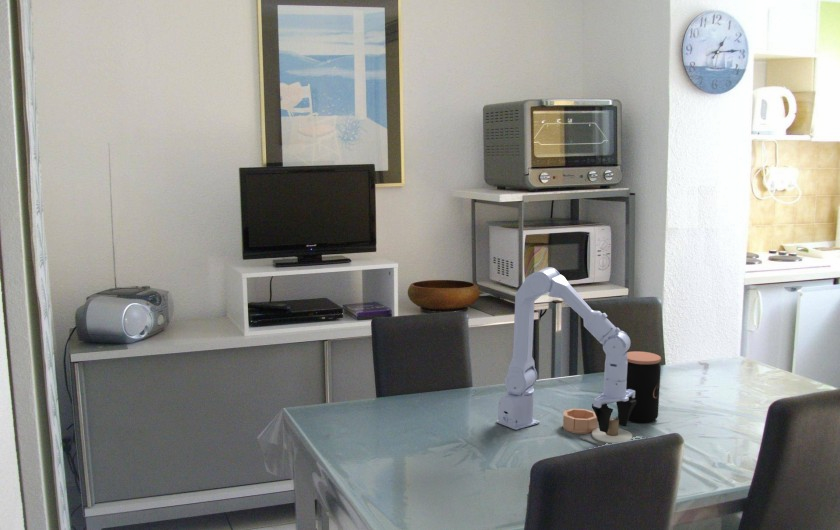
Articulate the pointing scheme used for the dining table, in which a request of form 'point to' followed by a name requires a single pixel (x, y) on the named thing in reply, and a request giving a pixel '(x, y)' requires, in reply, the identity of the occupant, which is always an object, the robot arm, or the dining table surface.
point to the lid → (612, 433)
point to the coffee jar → (644, 385)
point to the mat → (590, 439)
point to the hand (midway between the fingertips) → (613, 428)
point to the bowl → (579, 421)
